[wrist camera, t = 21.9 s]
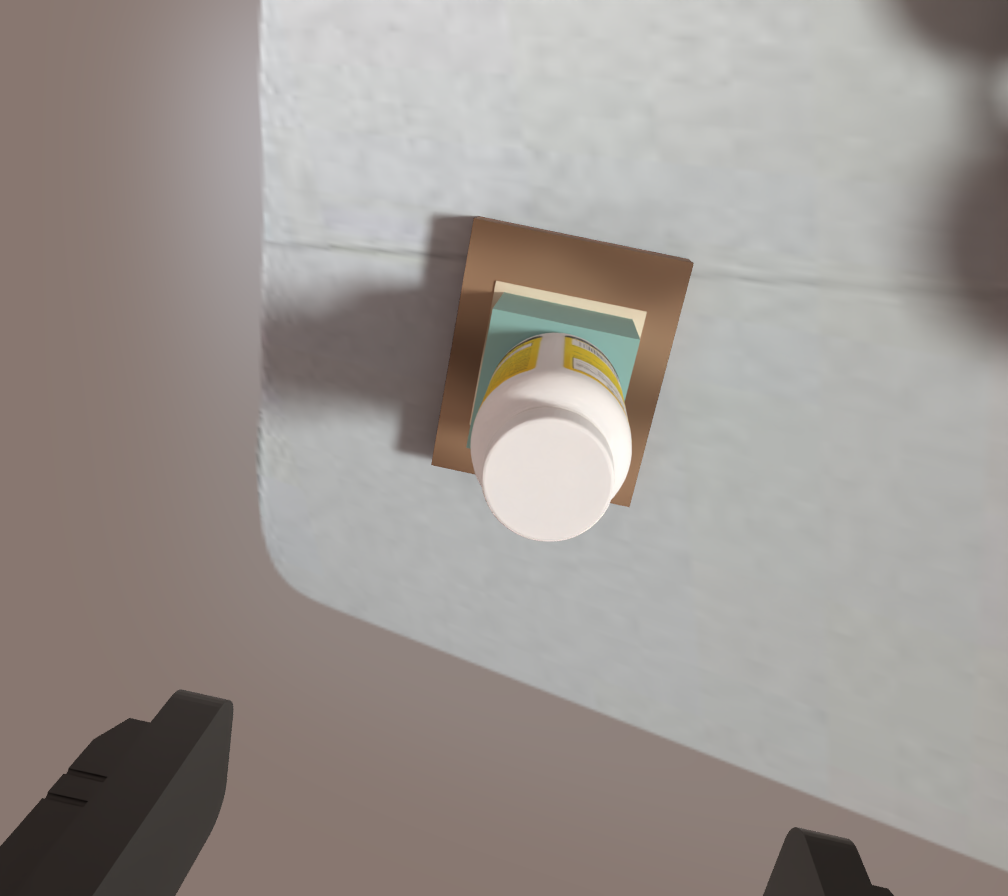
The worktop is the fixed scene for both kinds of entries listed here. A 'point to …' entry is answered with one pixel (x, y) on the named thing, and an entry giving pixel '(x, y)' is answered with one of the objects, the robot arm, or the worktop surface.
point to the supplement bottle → (551, 437)
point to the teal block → (535, 317)
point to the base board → (568, 281)
